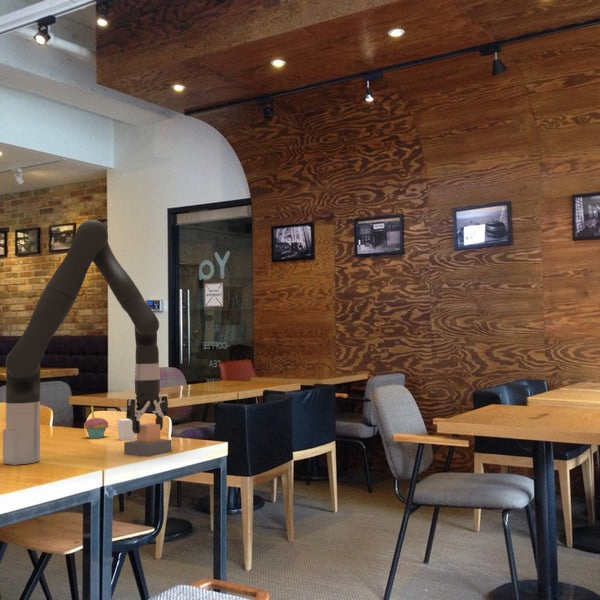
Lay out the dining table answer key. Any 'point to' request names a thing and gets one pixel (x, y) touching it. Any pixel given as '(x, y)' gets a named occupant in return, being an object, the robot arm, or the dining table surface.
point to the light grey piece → (125, 429)
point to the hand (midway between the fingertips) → (148, 431)
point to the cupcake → (95, 426)
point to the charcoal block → (147, 448)
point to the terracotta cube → (149, 433)
